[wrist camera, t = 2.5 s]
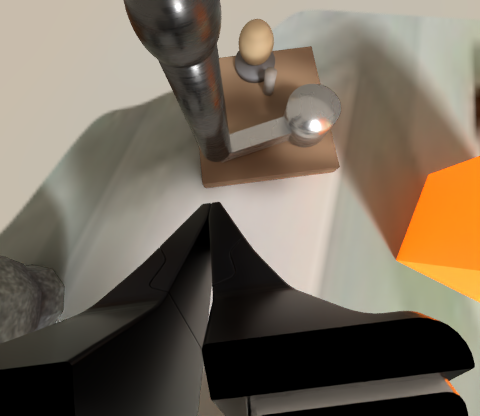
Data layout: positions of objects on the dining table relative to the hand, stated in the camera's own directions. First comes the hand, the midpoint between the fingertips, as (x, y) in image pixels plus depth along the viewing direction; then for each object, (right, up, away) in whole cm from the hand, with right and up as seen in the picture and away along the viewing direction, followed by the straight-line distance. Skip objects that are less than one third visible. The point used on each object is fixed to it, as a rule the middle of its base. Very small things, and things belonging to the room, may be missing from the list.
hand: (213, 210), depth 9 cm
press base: (+3, +9, +9) cm, 13 cm away
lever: (+3, +6, +7) cm, 10 cm away
